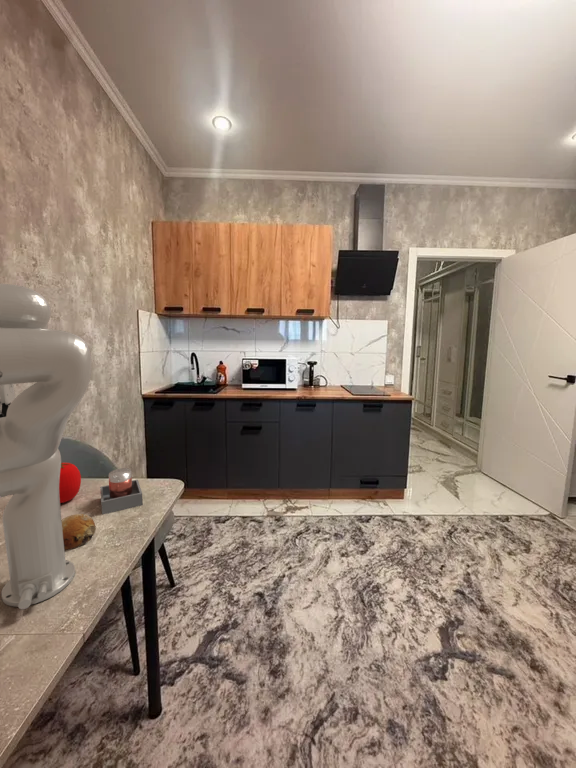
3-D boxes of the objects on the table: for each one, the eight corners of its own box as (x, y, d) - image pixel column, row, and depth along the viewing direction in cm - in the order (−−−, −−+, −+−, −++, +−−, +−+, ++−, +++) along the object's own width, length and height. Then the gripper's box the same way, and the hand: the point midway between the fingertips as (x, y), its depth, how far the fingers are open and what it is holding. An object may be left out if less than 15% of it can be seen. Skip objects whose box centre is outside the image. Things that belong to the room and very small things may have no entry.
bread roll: (92, 537, 93) (85, 509, 94) (103, 537, 86) (96, 506, 87) (50, 554, 86) (44, 524, 87) (59, 555, 79) (52, 522, 80)
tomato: (67, 510, 100) (63, 471, 98) (29, 509, 100) (24, 470, 98) (91, 491, 112) (88, 455, 110) (57, 490, 112) (54, 455, 110)
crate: (142, 505, 104) (142, 493, 103) (102, 514, 98) (101, 502, 97) (138, 490, 113) (137, 479, 113) (101, 498, 107) (100, 486, 107)
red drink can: (134, 500, 104) (132, 474, 103) (110, 506, 101) (109, 478, 99) (130, 492, 110) (129, 466, 108) (108, 497, 106) (107, 470, 105)
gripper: (4, 360, 75) (13, 432, 77) (18, 355, 89) (25, 416, 92) (-41, 361, 71) (-30, 437, 73) (-18, 355, 85) (-10, 419, 88)
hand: (1, 425), depth 83 cm, fingers open, 9 cm apart
